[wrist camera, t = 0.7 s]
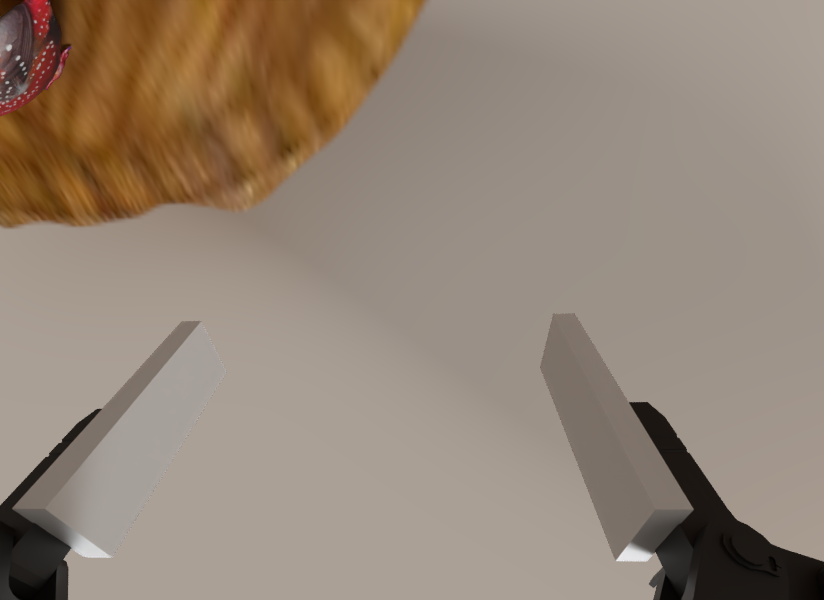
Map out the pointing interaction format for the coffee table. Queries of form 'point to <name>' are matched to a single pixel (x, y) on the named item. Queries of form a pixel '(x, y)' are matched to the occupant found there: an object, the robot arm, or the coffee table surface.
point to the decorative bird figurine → (28, 53)
